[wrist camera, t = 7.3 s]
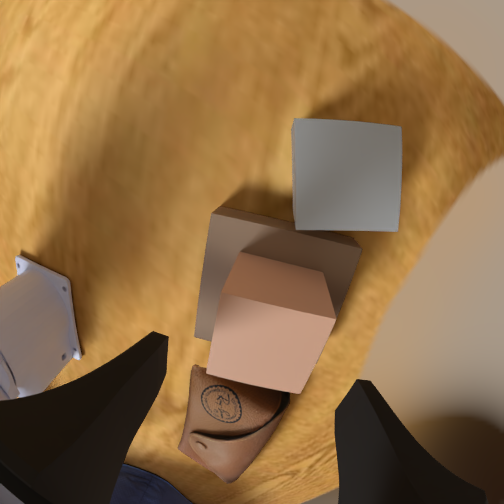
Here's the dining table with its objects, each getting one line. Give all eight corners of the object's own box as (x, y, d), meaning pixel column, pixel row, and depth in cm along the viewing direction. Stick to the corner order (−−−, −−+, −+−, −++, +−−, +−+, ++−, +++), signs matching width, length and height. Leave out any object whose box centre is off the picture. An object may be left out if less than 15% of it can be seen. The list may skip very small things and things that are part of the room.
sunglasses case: (186, 358, 20) (212, 430, 14) (265, 351, 23) (303, 408, 18) (176, 449, 26) (192, 494, 21) (228, 441, 30) (247, 482, 24)
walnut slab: (313, 340, 19) (316, 363, 16) (204, 316, 19) (194, 336, 17) (351, 235, 16) (362, 249, 14) (222, 204, 16) (211, 213, 14)
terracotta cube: (298, 338, 16) (299, 393, 12) (224, 321, 16) (206, 373, 12) (322, 272, 14) (336, 319, 10) (239, 251, 14) (220, 292, 10)
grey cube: (368, 210, 15) (397, 231, 11) (292, 209, 15) (295, 229, 11) (370, 133, 13) (401, 126, 9) (291, 129, 14) (294, 118, 10)
